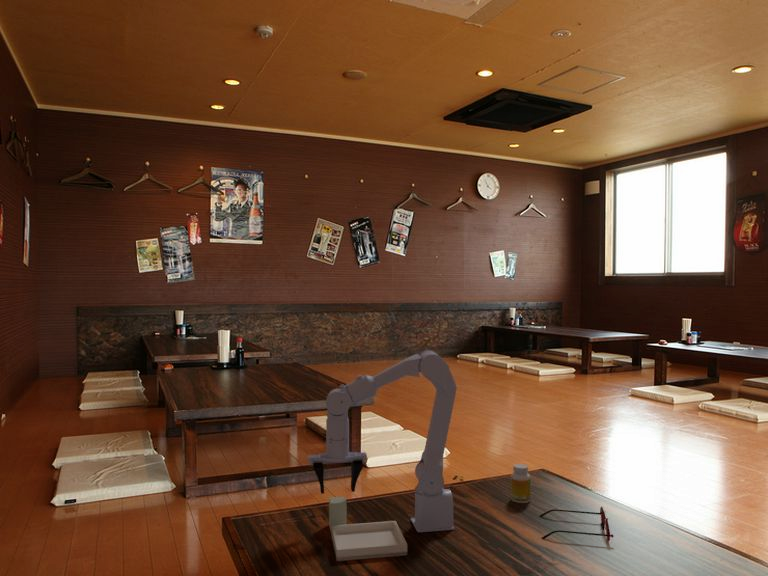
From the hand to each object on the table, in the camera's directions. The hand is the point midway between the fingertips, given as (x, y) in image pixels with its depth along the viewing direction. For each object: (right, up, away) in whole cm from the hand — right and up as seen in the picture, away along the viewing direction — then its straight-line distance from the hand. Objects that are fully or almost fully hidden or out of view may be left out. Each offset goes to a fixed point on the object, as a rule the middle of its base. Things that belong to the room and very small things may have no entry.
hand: (337, 491), depth 146 cm
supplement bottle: (+51, -9, +19) cm, 55 cm away
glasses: (+59, -10, -1) cm, 60 cm away
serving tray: (+8, -9, -10) cm, 15 cm away
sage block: (0, -9, 0) cm, 9 cm away
